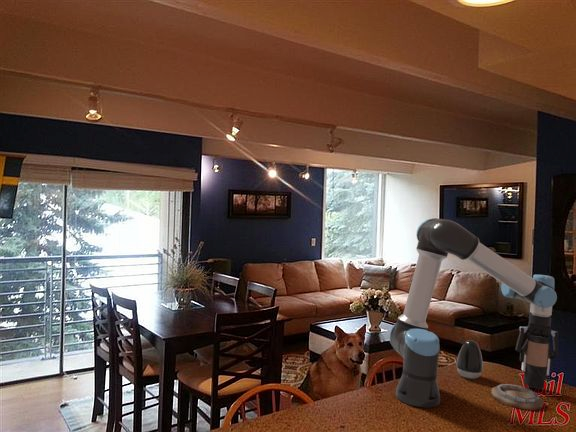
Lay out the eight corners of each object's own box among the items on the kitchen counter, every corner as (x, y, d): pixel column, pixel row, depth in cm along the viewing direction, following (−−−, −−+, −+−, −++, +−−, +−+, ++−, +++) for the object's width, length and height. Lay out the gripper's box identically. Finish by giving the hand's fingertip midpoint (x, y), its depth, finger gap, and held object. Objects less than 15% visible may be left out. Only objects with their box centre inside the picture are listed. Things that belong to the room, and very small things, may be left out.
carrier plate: (495, 404, 163) (495, 396, 163) (488, 386, 179) (488, 379, 179) (548, 413, 158) (549, 405, 158) (536, 394, 174) (537, 387, 174)
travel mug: (547, 390, 176) (552, 338, 175) (526, 387, 177) (531, 336, 177) (540, 383, 183) (545, 333, 183) (520, 380, 185) (524, 331, 184)
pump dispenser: (463, 370, 196) (466, 335, 196) (486, 378, 188) (489, 341, 188) (450, 374, 190) (453, 338, 189) (474, 383, 182) (477, 345, 181)
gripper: (513, 312, 179) (508, 370, 180) (573, 320, 173) (567, 380, 174) (510, 309, 186) (504, 364, 187) (566, 316, 181) (561, 373, 181)
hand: (534, 372), depth 180 cm, fingers closed on travel mug, 8 cm apart
